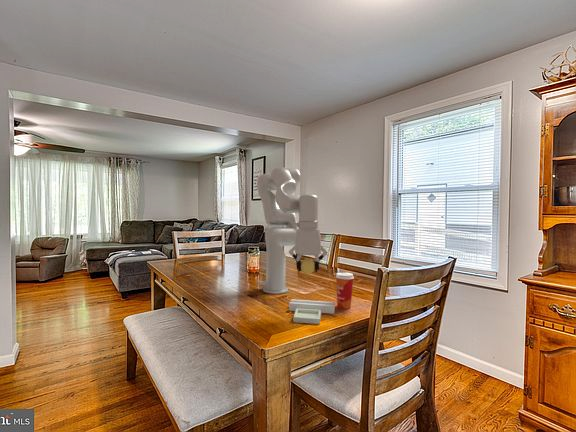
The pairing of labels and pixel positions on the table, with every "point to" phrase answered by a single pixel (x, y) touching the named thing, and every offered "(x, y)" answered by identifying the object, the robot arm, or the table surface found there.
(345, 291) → the paper cup
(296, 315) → the dish
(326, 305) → the rails
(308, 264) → the ball
